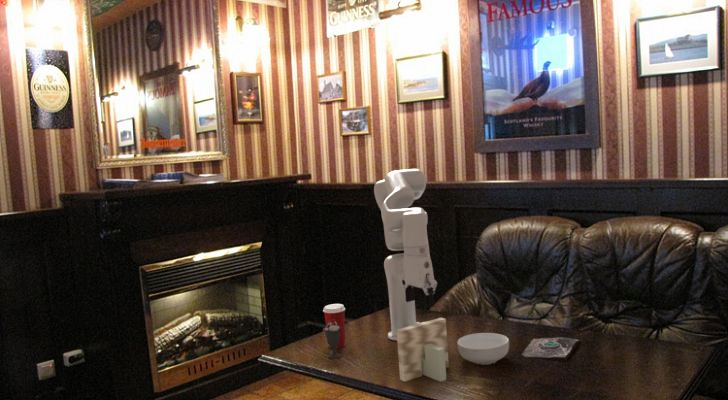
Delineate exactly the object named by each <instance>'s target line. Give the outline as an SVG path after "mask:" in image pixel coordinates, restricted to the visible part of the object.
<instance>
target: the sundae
mask: <svg viewBox="0 0 728 400" xmlns="http://www.w3.org/2000/svg"><path fill="white" fill-rule="evenodd" d="M335 317H336V316H334V318H335ZM334 318H333V319H332V321H330V322H328V321H327V327H326V326H325V327H323V329H322V332H323V333H325V336H326V342H327V345H330V346H331V347H332V348H331V347H330V348H331V349H332V352H331V354H329V355H327V358H328V359H331V360H332V358H333V359H334V358H336V359H339V358H341V357H342V354H341V353H337V348H336V346H337V345H338V344H339V338H340V330H341V329H342V328H341V327H339V326H338V325H337V323H336V322H335V319H334Z"/></svg>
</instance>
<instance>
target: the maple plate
mask: <svg viewBox="0 0 728 400" xmlns="http://www.w3.org/2000/svg"><path fill="white" fill-rule="evenodd" d="M422 322H423V323H422ZM422 322H419V323H420V324H416V325H412V326H409V327H405V328H402V329H398V330H396V331H397V341H396V342H397V343H396V344H397V356H398V368H399V369H398V370H399V380H400V381H402V382H408V381H411V380H414V379H417V378H420V377H422V376H423V374H422V369H421V360H424V359H425V348H424V345H427V344H433V345H436V346H439V347H442V348H444V352H445V366H446V367H447V368H449V367H450V365H449V364H450V363H449V348H448V336H447V320H446V318H443V317H438V318H435V319H430V320H427V321H422Z"/></svg>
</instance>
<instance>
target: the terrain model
mask: <svg viewBox="0 0 728 400" xmlns="http://www.w3.org/2000/svg"><path fill="white" fill-rule="evenodd" d="M580 343H581V340H580V339H577V338H576V339H575V338H570V337H561V336H558V337H557V336H552V337H542V338H541V337H539V338H533V339H532V340H531V341H530V343H529V344H528V345H527V347H526V348H525V349H524V350H523V352H522V353H521V356H523V357H524V358H530V359H531V358H532V359H542V360H553V361H559V362H560V361H561V362H566V361H567V359H569V357H570V356H571V355H572V353H573V351H574V350H575V349H576V348H577V346H578V345H579V344H580Z"/></svg>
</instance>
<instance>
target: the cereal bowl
mask: <svg viewBox="0 0 728 400" xmlns="http://www.w3.org/2000/svg"><path fill="white" fill-rule="evenodd" d="M456 344H457V349H458V352H459V355H460V356H461V358H463V359H464V360H466V361H469V362H472V363H473V364H475V363H476V364H475V365H479V364H481V365H480V366H487V365H492V363H493V364H495V363H497V361H499V360H502V359H503V358H505V357H506V356H507V354H508V352H509V349H510V340H509V338H508V337H507V336H506V335H504V334H501V333H500V334H499V333H495V332H479V333H471V334H466V335H464V336H461V337H460V338H459V339H458V340H457V343H456Z"/></svg>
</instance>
